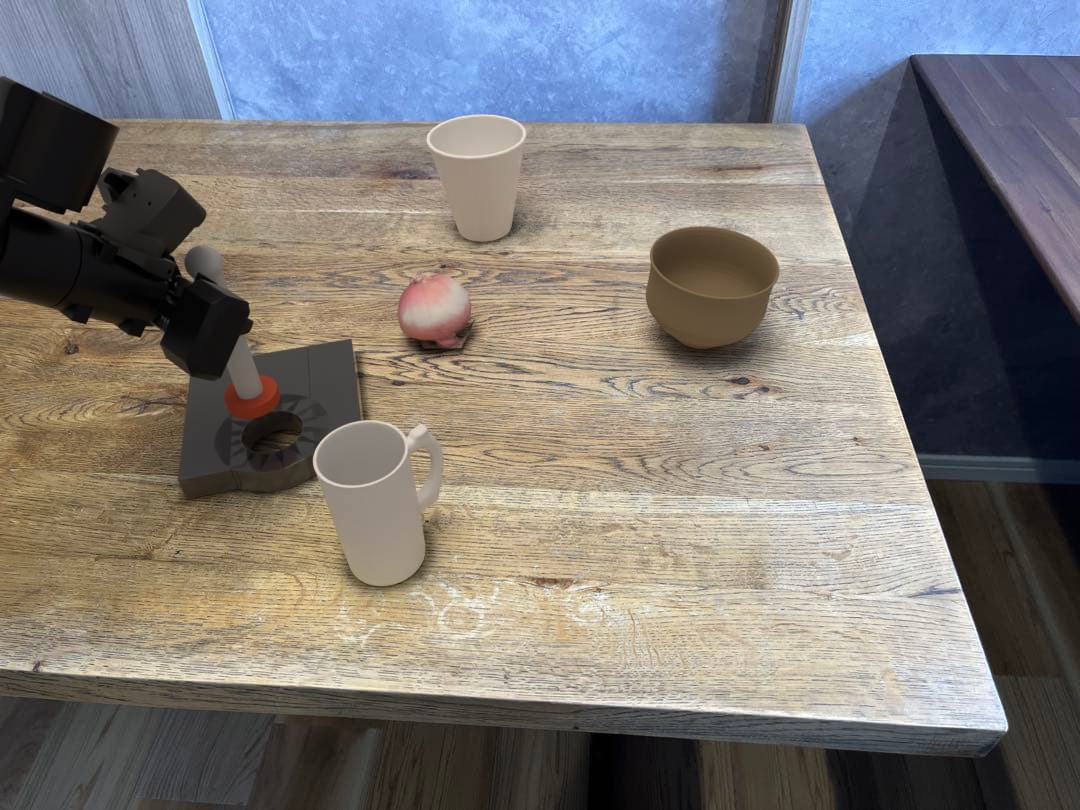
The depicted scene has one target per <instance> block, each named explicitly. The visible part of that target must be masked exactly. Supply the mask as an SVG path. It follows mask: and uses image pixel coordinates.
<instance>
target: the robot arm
mask: <svg viewBox="0 0 1080 810" xmlns="http://www.w3.org/2000/svg"><path fill="white" fill-rule="evenodd" d="M120 130H121V127H120V126H117V125H116V124H113V123H112V122H109V121H107V120H105V119H103V118H101V117H99V116H97V115H95V114H92V113H91V112H89V111H86V110H84V109H82V108H81V107H78V106H76V105H74V104H73V103H70V102H68V101H66V100H64V99H62V98H60V97H57V96H55V95H53V94H51V93H49V92H47V91H44V90H42V91H41V92H39V91H37V90H35V89H33V88H32V87H29V86H26V85H25V84H22V83H20V82H18V81H16V80H14V79H11V78H9V77H7V76H6V75H2V76H0V297H5V298H9V299H12V300H16V301H21V302H24V303H27V304H32V305H36V306H40V307H45V308H48V309H52V310H56V311H58V312H59V313H60V314H62V315H63V316H65V317H66V318H67V319H69V320H70V321H71V322H74V323H79V324H81V325H87V324H88V322H89V319H92V320H96V321H98V322H99V321H100V322H103V323H107V324H112V325H114V326H116V327H117V328H118V329H120V330H121V331H122V332H124V333H125V334H126V335H127V336H132V337H134V338H135V337H136V338H140V339H142V336H143V335H144V334H143V333H144V331H145V329H146V327H155V328H157V329H158V330H159V331H161V332H162V333H163V335H162V337H161V340H160V341H159V346H160V348H161V350H162V353H163V355H164V357H165V359H166V360H168V361H169V362H171V363H172V364H173V365H175V366H176V367H177V368H179V369H180V370H181V371H183V372H184V373H186V374H187V375H188V376H189V377H190V376H191V377H195V378H200V379H205V380H209V381H215V380H217V379H219V378H221V377H222V375H223V372H224V370H225V368H226V366H227V363H228V361H229V359H230V357H231V354H232V352H233V350H234V348H235V345H236V343H237V341H238V339H239V336H241V335H247V334H249V333H250V332H251V330H252V328H253V326H254V323H255V322H254V320H252V319H251V318H249V316H250V314H251V308H250V302H249V301H248V300H246V299H244V298H242V297H241V296H239V295H237V294H236V293H234V292H232V291H231V290H230V289H229V290H227V289H225V288H223V287H221V286H218V284H217V283H216V282H214V281H213V280H211V279H209V278H208V277H206V276H204V275H203V274H201V273H199V272H198V273H197V275H196V278H195V280H194V279H193V281H192V280H190V279H189V278H186V277H185V276H183V275H182V273H181V269H180V268H179V266H178V264H177V263H178V262H177V261H176V259H175V257H174V256H173V255H171V254H173V253H174V252H175V251H176V250H177V249H178V248H179V247H180V245H181V244H182V243H183V242H184V241H185V240H186V238H187V237H188V236H189V235H190V234H191V233H192V232H193V230H195V229H196V228H199V227H201V225H202V224H203V223H204V222H205V220H206V218H207V210H206V209H205V208H204V206H202V205H201V204H200V203H199V201H197V200H196V199H195V197H193V195H191V194H190V193H189V192H188V191H187V190H186V189H185V188H184V186H182V184H180V183H179V182H178V181H177V180H175V179H174V178H172V177H170V176H168V175H166V174H164V173H163V172H160V171H159V170H157V169H154V168H148V169H143V168H142V167H137V168H136V169H135V173H136V174H137V175H135V174H132V173H131V172H129V171H124V170H122V169H117V168H114V167H111V166H108V167H107V168H106V169H104V168H105V165H106V164H107V161H108V158H109V156H110V154H111V152H112V149H113V147H114V144H115V142H116V139H117V137H118V135H119V132H120ZM103 170H104V171H103ZM96 187H97V188H98V190H99V193H100V195H101V199H102V201H103V202H104V204H103V205H102V206H101V207H100V208H101V209H102V211H104V212H105V214H104V215H103V217H98V218H96V219H93V220H91V221H89V222H88V221H84V220H81V219H77V222H74V221H72V220H70V221H69V224H66V223H63V222H60V221H58V220H56V219H52V218H50V217H46V216H43V215H42V214H38V213H35V212H32V211H29V210H26V209H24V208H21V207H18V206H16V205H14V203H15V200H18V201H21V202H24V203H27V204H29V205H32V206H34V207H36V208H39V209H42V210H45V211H46V212H47V211H48V212H49V213H53V214H56V215H62V216H64V215H66V212H67V210H68V211H71V212H75V213H76V214H77V213H78V214H81V213H82V211H83V208H84V207H88V206H89V204H90V202H91V199H92V197H93V194H94V193H95V189H96Z"/></svg>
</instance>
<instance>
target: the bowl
mask: <svg viewBox="0 0 1080 810" xmlns="http://www.w3.org/2000/svg"><path fill="white" fill-rule="evenodd" d="M649 261H650V267H649V274H648V279H647V284H646V288H645V289H646V290H645V301H646V306H647V308H648V311H649V312H650V315H651V316H652V318H653V319H654V321H655V322H656V323H657V324H658V325H659V327H660V328H661V329H662V330H664V332H666V333H667V334H668V335H669V336H671V337H672V338H674V339H676V340H677V341H678V342H679V343H680V344H682V345H684V346H686V347H688V348H689V347H690V348H691V349H692V348H693V349H695V350H708V349H714V348H716V347H722V346H727V345H731V344H733V343H736V342H738V341H740V340H742V339H745V338H746V337H747V336H750V335H751V334H752V333H753V332H754V331H756V330H757V329H758V328H759V327H760V325H761V324H762V322H763V321H764V318H765V316H766V313H767V309H768V305H769V300H770V297H771V294H772V292H773V288H774V287H775V285H776V284H777V282H778V280H779V278H780V277H779V276H780V265H779V262H778V260H777V258H776V256H775V255H774V254H773V253H772V251H771V250H770V249H769V248H768V247H766V246H765V245H764V244H763V243H761V242H759V241H758V240H756V239H754V238H753V237H750V236H748V235H746V234H744V233H741V232H738V231H736V230H731V229H729V228H728V229H726V228H722V227H716V226H707V225H705V226H704V225H699V226H698V225H697V226H687V227H681V228H676V229H673V230H671V231H668V232H665V233H664V234H662V235H661V236H659V237H658V238H657V239H656V240H655V241H654V242H653V244H652V245H651V248H650V251H649Z"/></svg>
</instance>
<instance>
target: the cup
mask: <svg viewBox="0 0 1080 810" xmlns="http://www.w3.org/2000/svg"><path fill="white" fill-rule="evenodd" d="M526 139H527V129H526V128H525V127H524V126H523V124H522V123H520V122H518V121H517V120H515V119H513V118H510V117H507V116H502V115H497V114H487V113H486V114H469V115H462V116H456V117H454V118H450V119H447V120H444V121H443V122H440V123H439V124H436V125H435V126H434V127H432V128H431V129H430V131H429V132H428V133H427V135H426V139H425V143H426V146H427V147H428V149H429V151H430V154H431V157H432V161H433V163H434V166H435V168H436V171H437V174H438V177H439V179H440V182H441V185H442V188H443V191H444V193H445V198H446V200H447V203H448V205H449V208H450V211H451V214H452V217H453V220H454V222H455V225H456V228H457V231H458V234H459V235H460V236H461V237H462V238H464V239H466V240H469V241H472V242H477V243H479V242H480V243H483V242H484V243H485V242H492V241H497V240H499V239H502V238H504V237H505V236H507V235H508V234H509V233H510V232H511V230H512V225H513V219H514V213H515V207H516V206H515V205H516V200H517V195H518V187H519V181H520V177H521V176H520V175H521V169H522V162H523V157H524V156H523V155H524V149H525V144H526Z"/></svg>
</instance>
